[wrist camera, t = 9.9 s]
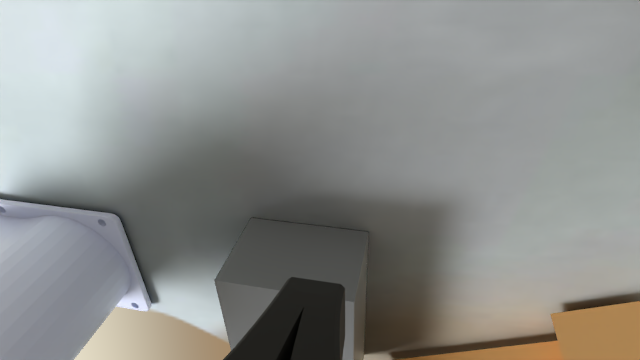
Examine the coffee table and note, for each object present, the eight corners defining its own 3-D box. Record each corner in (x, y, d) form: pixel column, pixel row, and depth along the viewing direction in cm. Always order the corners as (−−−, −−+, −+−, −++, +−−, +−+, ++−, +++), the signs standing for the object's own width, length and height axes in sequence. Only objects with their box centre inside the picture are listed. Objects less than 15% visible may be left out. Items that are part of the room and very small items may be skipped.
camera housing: (269, 338, 28) (237, 422, 23) (250, 217, 22) (204, 297, 18) (363, 355, 26) (349, 447, 22) (368, 231, 21) (350, 321, 17)
